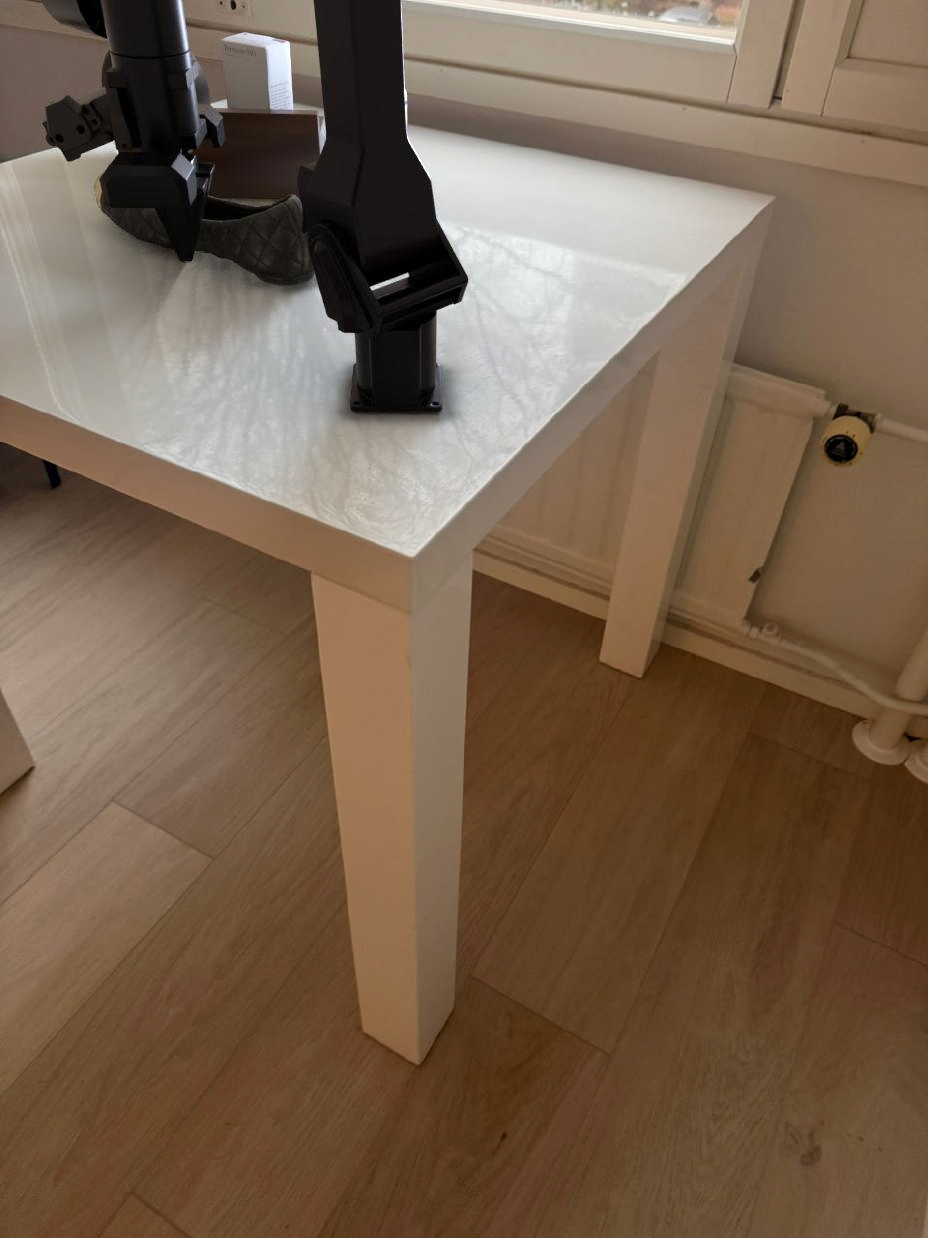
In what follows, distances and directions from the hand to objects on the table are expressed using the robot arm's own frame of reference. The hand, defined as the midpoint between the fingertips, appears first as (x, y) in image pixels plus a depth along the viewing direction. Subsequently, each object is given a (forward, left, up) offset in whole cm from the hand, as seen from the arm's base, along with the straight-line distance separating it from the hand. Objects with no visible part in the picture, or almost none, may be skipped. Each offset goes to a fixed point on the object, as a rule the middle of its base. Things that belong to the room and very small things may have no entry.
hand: (186, 261), depth 78 cm
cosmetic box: (+31, -3, -2) cm, 31 cm away
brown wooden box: (+24, 0, -2) cm, 24 cm away
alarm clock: (+33, +8, -2) cm, 34 cm away
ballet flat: (+7, -1, -2) cm, 7 cm away
